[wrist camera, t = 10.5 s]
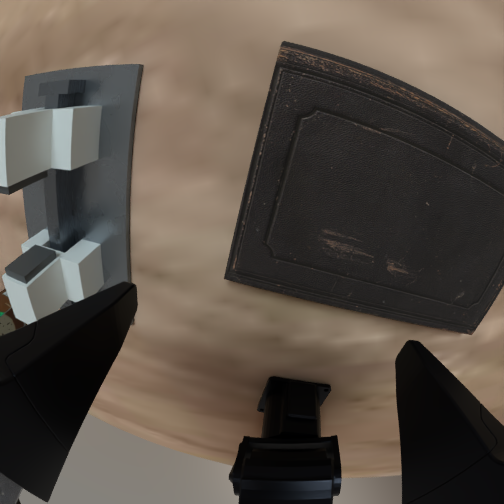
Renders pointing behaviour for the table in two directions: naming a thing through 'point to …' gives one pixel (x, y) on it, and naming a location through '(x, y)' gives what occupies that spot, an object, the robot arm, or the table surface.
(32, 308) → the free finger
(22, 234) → the table surface
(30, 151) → the block
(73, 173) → the rail
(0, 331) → the food container
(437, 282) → the hardcover book
